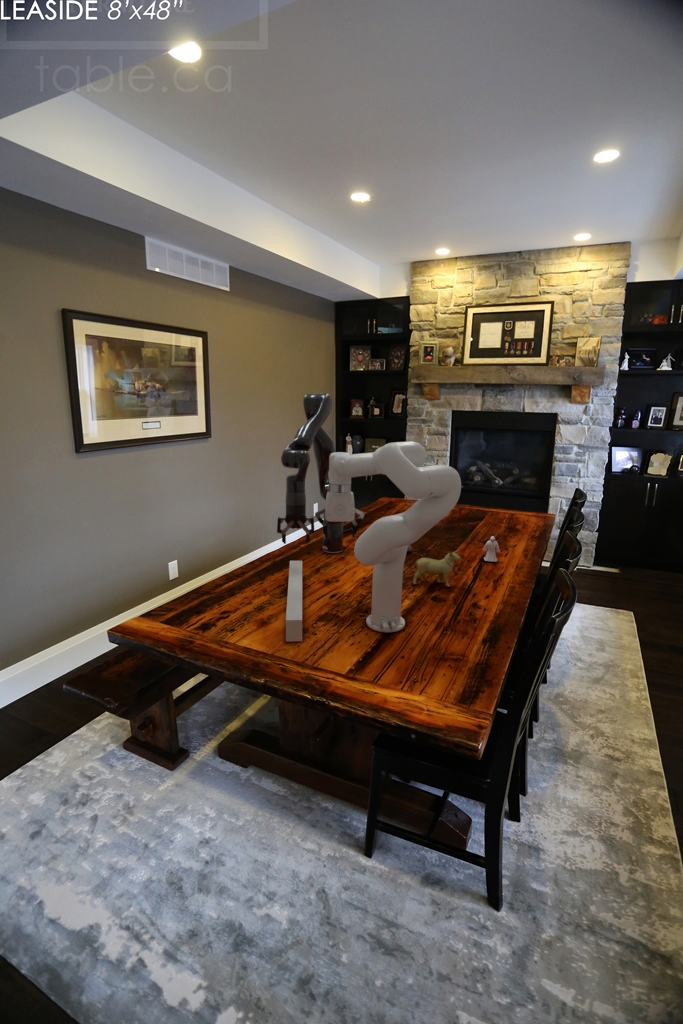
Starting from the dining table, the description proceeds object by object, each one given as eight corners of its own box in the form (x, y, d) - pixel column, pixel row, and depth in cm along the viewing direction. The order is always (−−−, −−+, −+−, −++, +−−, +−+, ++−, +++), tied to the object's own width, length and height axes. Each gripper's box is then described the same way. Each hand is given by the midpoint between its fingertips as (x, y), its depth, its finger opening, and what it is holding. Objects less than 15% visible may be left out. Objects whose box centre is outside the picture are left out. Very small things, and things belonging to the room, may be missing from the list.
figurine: (481, 562, 222) (483, 536, 219) (482, 556, 230) (484, 531, 227) (499, 564, 220) (501, 538, 217) (499, 558, 228) (501, 533, 225)
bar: (302, 641, 151) (302, 619, 149) (285, 641, 150) (285, 620, 149) (302, 577, 201) (302, 560, 200) (290, 577, 201) (289, 560, 199)
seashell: (399, 559, 234) (389, 546, 233) (404, 553, 238) (394, 540, 237) (410, 555, 228) (400, 541, 227) (416, 548, 232) (405, 535, 231)
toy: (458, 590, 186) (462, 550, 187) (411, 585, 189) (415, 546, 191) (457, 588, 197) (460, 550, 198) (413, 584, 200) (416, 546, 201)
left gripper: (314, 500, 193) (314, 540, 197) (277, 500, 192) (277, 540, 196) (314, 504, 186) (314, 546, 190) (276, 504, 185) (276, 546, 189)
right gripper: (314, 490, 168) (314, 539, 172) (366, 490, 169) (364, 539, 173) (315, 486, 175) (315, 533, 179) (364, 486, 176) (363, 533, 180)
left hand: (295, 543), depth 193 cm, fingers open, 8 cm apart
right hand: (339, 536), depth 176 cm, fingers open, 9 cm apart
